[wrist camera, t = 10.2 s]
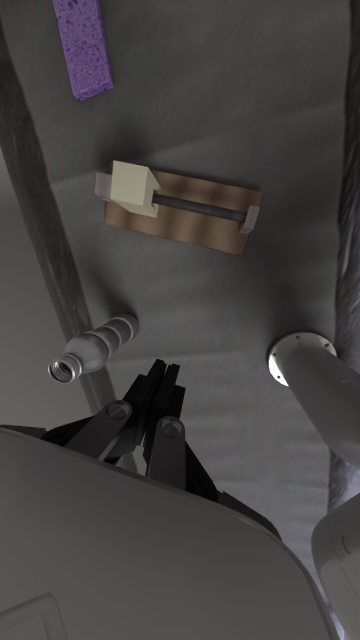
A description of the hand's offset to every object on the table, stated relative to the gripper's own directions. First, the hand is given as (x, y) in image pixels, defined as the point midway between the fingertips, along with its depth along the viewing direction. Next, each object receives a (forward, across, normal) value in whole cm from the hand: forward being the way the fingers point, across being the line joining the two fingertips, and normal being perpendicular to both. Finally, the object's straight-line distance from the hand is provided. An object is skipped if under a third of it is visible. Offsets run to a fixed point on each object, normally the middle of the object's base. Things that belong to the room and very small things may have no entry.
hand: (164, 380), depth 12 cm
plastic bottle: (+27, +14, +9) cm, 32 cm away
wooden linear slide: (+27, +8, -16) cm, 32 cm away
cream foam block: (+24, +13, -16) cm, 32 cm away
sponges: (+28, +28, -36) cm, 53 cm away
